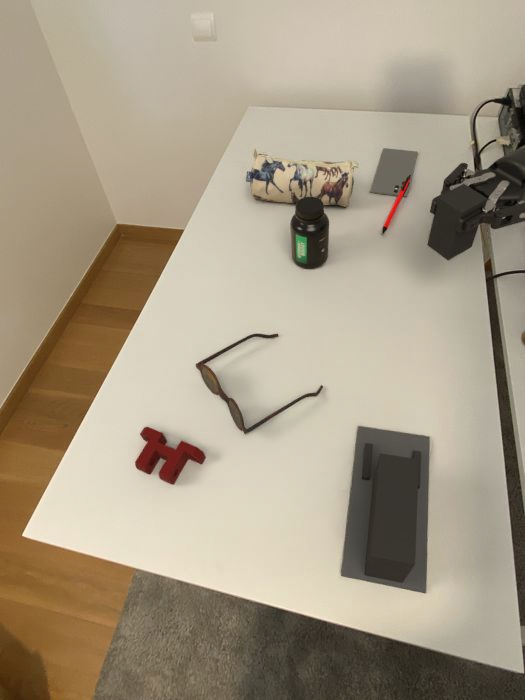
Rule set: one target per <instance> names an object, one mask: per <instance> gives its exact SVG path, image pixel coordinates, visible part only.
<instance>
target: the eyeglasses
mask: <svg viewBox="0 0 525 700" xmlns="http://www.w3.org/2000/svg"><path fill="white" fill-rule="evenodd" d="M278 337H279V333H273V334H265V333H252V334H249V335H247V336H245V337H243V338H241V339H240V340H237V341H236V342H233V343H232V344H230V345H228V346H226V347H225V348H223V349H220V350H219V351H217V352H215V353H213V354H212V355H209V356H208V357H206V358H204V359H202V360H201V361H199V362H197V363H195V367H196V369H197V370H198V371H199V372H200V375H201V378H202V381H203V382H204V384H205V386H206V387H207V388H208V390H210V392H211V393H212V394H214V395H215V396H219V398H220V399H221V400H222V401H224V402H225V403H226V404H227V407H228V411H229V413H230V416H231V418H232V420H233V423H234V424H235V426H236V427H237V429H238V430H239V431H240V432H243V434H244V435H247V434H249V433H251V432H252V431H254V430H256V429H258V428H259V427H260V426H262V425H263V424H265V423H267V422H269V421H270V420H271V419H273V418H274V417H276V416H278V415H279V414H281V413H283V412H285V410H288V409H289V408H290V407H292V406H294V405H296V404H297V403H300V401H302V400H304V399H306V398H310V397H311V398H312V397H318V396H319V395H320V393H321V391H322V390H323V388H324V385H323V384H321V385H320V386H319V387H318V389H317V391H316V392H308V393H306V394H303V395H301V396H299V397H298V398H295V399H294V400H292V401H291V402H289V403H287V404H285V405H284V406H282V407H281V408H279V409H277V410H275V411H274V412H272V413H271V414H269V415H267V416H265V417H263V418H262V419H260V420H259V421H258V422H256V423H254V424H253V425H251V426H249V427H247V428H246V426H245V420H244V416H243V414H242V411H241V409H240V406H239V405H238V403H237V401H236V400H235V399H234V398H232V397H229V396H228V395H227V394H226V393H225V391H224V389H223V388H222V386H221V384H220V381H219V379H218V377H217V375H216V374H215V372H214V371H213V370H212V368H210V366H208V365H206V364H207V363H209V362H211V361H213V360H214V359H216V358H218V357H220V356H222V355H224V354H225V353H226V352H229V351H231V350H232V349H234V348H235V347H237V346H239V345H241V344H243V343H244V342H246V341H249V340H250V339H253V338H262V339H274V338H278Z"/></svg>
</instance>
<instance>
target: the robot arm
mask: <svg viewBox="0 0 525 700" xmlns="http://www.w3.org/2000/svg"><path fill="white" fill-rule="evenodd" d="M468 167H469V164H468V163H466V162H461V163H460V164H458V165H457V166H456V167H455V168H454V169H453V170H452V171H451V172H450V173H449V175H447V176H446V177H445V178H444V179H443V184H442V188H441V191H440V194H439V195H437V196H435V197H433V198H432V200H431V204H430V210H429V212H430V213H431V214H432V215H434V214H435V210H436V205H437V201H438V197H440V196H442V195H444V194H445V193H447V192H449V191H451V190H453V189H455V188H457V187H458V186H460V185H462V184H465V185H467V186H468V187H470V188H472V189H473V190H475V191H476V192H478V193H480V194H481V195H483V196H484V197H486V198H488V200H487V203H486V204H484V205H483V206H482V208H481V210H480V209H476V210H474V211H473V212H471V213H469V214H467V215H465V216H464V217H462V218H460V219H459V221H458V223H457V227H456V230H457V231H458V232H460V233H461V232H463V231H465V232H466V231H470V230H471V229H473V228H475V227H477V226H478V225H479V226H480V225H481V226H483V225H486V224H487V225H489V227H490V229H492V230H499V229H502V228H506V227H510V226H512V225H516V224H520V223H524V222H525V145H522V146H520V147H518V148H516V149H515V150H513V151H511V152H509V153H508V154H505V155H503V156H501V157H499V158H498V159H497V160H495V161H494V162H493V163H491V164H490V166H488V167H487V168H485V169H478V170H477V171H474V170H471V169H469V168H468Z"/></svg>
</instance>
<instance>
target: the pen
mask: <svg viewBox="0 0 525 700" xmlns="http://www.w3.org/2000/svg"><path fill="white" fill-rule="evenodd" d="M410 177H411V175H409V177H407V178H406V180H405V182H404V184H403V186H402V189H401V191H400V193H399V195H398V196H396V199H395V202H394V204H393V205H392V207H391V210H390V212H389V214H388V216H387V217H386V220H385V222H384V224H383V226H382V230H381V234H382V235H383V234H384V233H385V232H386V231H387V230H388V229H389V226H390V224H391V222H392V220H393V217H394V216H395V213H396V211H397V209H398V207H399V204H400V203H401V200H402V199H403V197H402V196H403V194H404V192H405V190H406V188H407V186H408V184H409V182H410Z"/></svg>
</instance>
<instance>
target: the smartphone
mask: <svg viewBox="0 0 525 700" xmlns="http://www.w3.org/2000/svg"><path fill="white" fill-rule="evenodd" d="M418 154H419V153H418V151H415V150H405V149H397V148H387V147H383V148H382V151H381V155H380V158H379V162H378V164H377V168H376V170H375V174H374V177H373V181H372V184H371V188H370V191H369V193H371V194H378V195H386V196H393V197H398V195H399V193H400V191H401V189H402V186H403V184H404V182H405V180H406V178H407V177H409V175H411V177H410V182H409V184H408V186H407V188H406V190H405V192H404V194H403V196H402V198H408V195H409V191H410V190H411V189H410V188H411V183H412V179H413V174H414V170H415V165H416V162H417V158H418Z"/></svg>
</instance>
